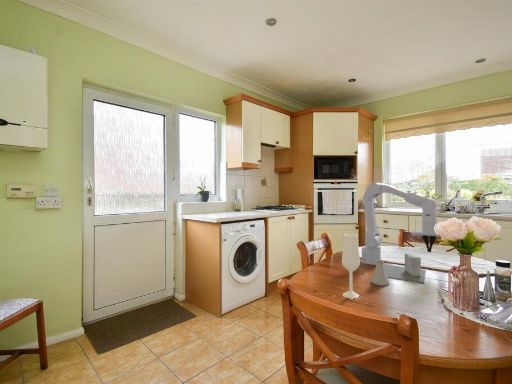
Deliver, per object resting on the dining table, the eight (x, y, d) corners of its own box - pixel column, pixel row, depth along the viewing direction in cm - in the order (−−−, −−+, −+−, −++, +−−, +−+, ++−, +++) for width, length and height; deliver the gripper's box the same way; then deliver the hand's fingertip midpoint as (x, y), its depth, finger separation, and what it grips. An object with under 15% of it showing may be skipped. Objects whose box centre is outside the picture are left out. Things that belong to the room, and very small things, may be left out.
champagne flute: (345, 290, 107) (345, 232, 106) (362, 295, 103) (362, 234, 102) (339, 296, 102) (338, 235, 101) (356, 301, 97) (356, 237, 97)
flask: (381, 287, 110) (381, 264, 109) (367, 282, 116) (367, 259, 116) (392, 284, 113) (392, 261, 113) (378, 279, 119) (377, 257, 119)
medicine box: (421, 276, 120) (421, 257, 120) (410, 276, 121) (410, 257, 121) (414, 270, 128) (414, 253, 128) (404, 270, 129) (404, 253, 129)
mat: (378, 276, 123) (378, 275, 123) (385, 264, 139) (385, 264, 139) (423, 283, 113) (424, 282, 113) (425, 270, 129) (425, 269, 129)
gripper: (411, 223, 126) (411, 251, 126) (448, 225, 117) (448, 255, 118) (412, 221, 131) (412, 248, 132) (447, 223, 123) (447, 252, 124)
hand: (429, 251), depth 125 cm, fingers closed
